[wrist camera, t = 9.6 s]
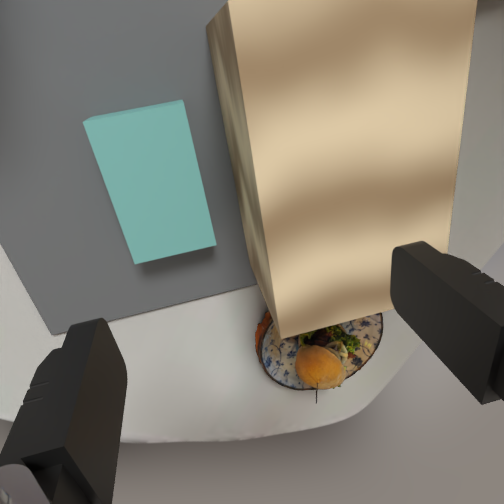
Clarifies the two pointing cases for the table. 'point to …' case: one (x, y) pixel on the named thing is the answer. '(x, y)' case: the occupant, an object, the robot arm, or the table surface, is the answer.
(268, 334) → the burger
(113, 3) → the mat
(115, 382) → the robot arm
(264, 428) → the table surface
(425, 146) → the oak block
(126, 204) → the card box
